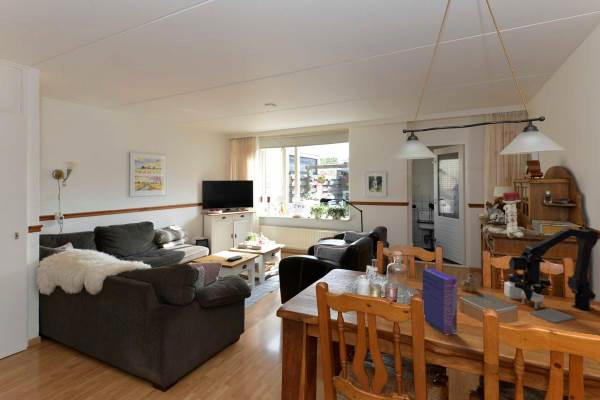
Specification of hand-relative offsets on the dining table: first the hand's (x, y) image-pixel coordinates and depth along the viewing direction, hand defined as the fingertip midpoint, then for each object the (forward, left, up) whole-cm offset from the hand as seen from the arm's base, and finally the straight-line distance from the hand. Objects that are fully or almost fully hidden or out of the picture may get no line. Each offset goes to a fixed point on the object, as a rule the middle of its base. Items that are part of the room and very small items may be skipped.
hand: (532, 300), depth 162 cm
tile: (+4, +12, -3) cm, 13 cm away
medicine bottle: (-3, -12, -3) cm, 13 cm away
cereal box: (+61, +1, -3) cm, 61 cm away
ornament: (+12, -28, -3) cm, 31 cm away
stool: (0, 0, -3) cm, 3 cm away
